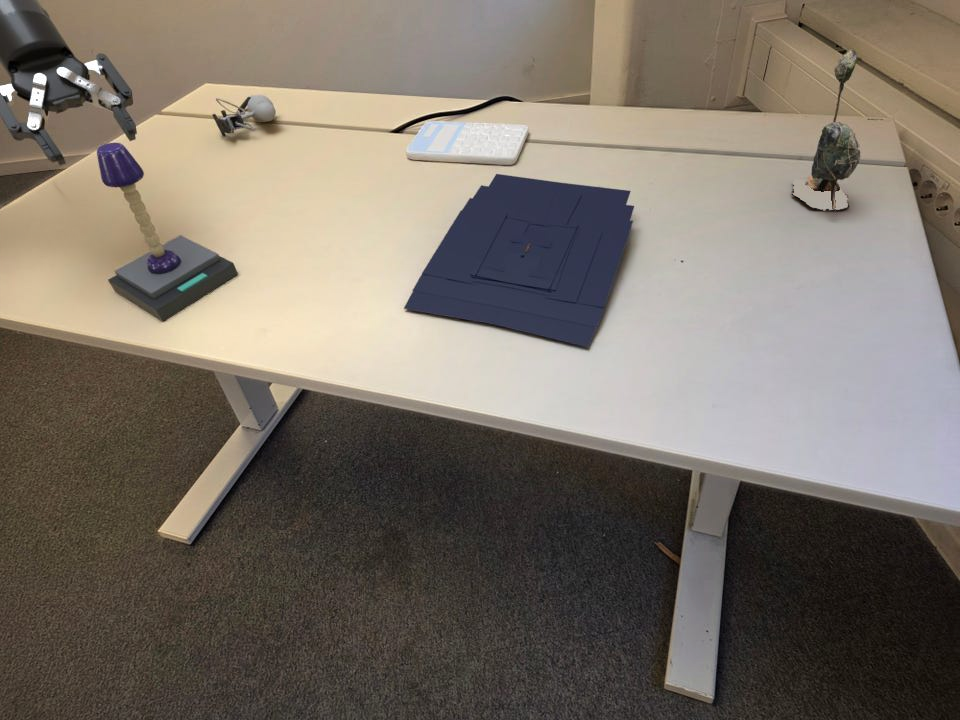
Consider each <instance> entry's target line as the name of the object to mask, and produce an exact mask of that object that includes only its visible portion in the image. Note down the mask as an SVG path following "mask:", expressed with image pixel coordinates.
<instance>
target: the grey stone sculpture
mask: <svg viewBox="0 0 960 720" xmlns="http://www.w3.org/2000/svg"><path fill="white" fill-rule="evenodd" d="M857 57H858V53H857V52H856V51H855V49H848V50H847V51H846V52H845V53H844V54H842V57H841V58H840V59H839V60H837V63H836V65H835V68H834V69H833V70H834V71H833V72H834V76H835V78H836V80H837V81H838V83H839V89H838V90H839V91H838V94H837V102H836V108H835V112H834V117H833V121H832V122H830V123H828V124H826V125H824V126H823V129H821V135H820V136H819V140H818V142H817V143H818V144H817V146H816V152H815V155H814V157H813V162H812V165H811V173H810V174H811V176H808V177H806V178H807V179H806V181H805V185H807V186H809V187H810V188H811V189H813V190H814V191H821V192H824V191H831V201H832V209H835V208H836V200H835V192H836V191H839V190H840V187H839V186H840V184H839V183H838V181H839V180H840V181H843V180H845V179H848V178H849V177H850V176H851V175H852V174H853V173H854V172H855V170H856V169H857V167H858V165H859V162H860V159H861V157H862V155H861V146H860V143H859V141H858V140H857V137H856V133H855V131H854V129H853V128H852V127H851V126H850V125H848V124H847V123H842V122H840V121H839V122H837V117H838V112H839V107H840V101H841V95H842V93H843V90H844V87H845V84H846V83H847V82H848V81H850V79H851V77H852V75H853V72H854V70H855V68H856V64H857Z"/></svg>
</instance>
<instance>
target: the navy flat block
mask: <svg viewBox="0 0 960 720" xmlns="http://www.w3.org/2000/svg"><path fill="white" fill-rule="evenodd" d="M631 192H632V191H631V190H626V189H620V188H619V189H618V188H611V187H602V186H593V185H584V184H576V183H568V182H559V181H551V180H545V179H537V178H531V177H522V176H515V175H507V174H500V173H495V175H494V177H493V178H492V180H491V182H490V183H489V185H483V184H482V185H480V186H479V187H478V189H477V191H476V192H475V194H474V195H473V197H469V198H468V200H467V201H466V203H465V205H464V206H463V208H462V209H461V210H460V211H459V212H458V214H457V216H456V217H455V219H454V220H453V222H452V223H451V225H450V227H449V229H448V230H447V232H446V234H445V235H444V237H443V238H442V240H441V241H440V243H439V245H438V247H437V248H436V250H435V251H434V252H433V254H432V256H431V258H430V259H429V261H428V262H427V264H426V266H425V268H424V269H423V271H422V273H421V275H420V276H419V278H418V280H417V282H416V284H415V285H414V287H413V288H412V292H411V294H410V296H409V298H408V300H407V301H406V303H405V305H404V307H403V309H404V310H410V311H415V312H421V313H427V314H433V315H437V316H438V315H439V316H444V317H450V318H455V319H462V320H468V321H473V322H479V323H485V324H490V325H495V326H499V327H503V328H508V329H512V330H515V331H520V332H524V333H528V334H532V335H536V336H540V337H545V338H548V339H551V340H556V341H559V342H560V341H561V342H564V343H567V344H572V345H578V346H580V347H585V348H589V347H590V345H591V342H592V340H593V337H594V335H595V332H596V329H597V328H599V325H600V322H601V319H602V317H603V313H604V311H605V309H606V304H607V301H608V298H609V295H610V293H611V289H612V286H613V283H614V280H615V278H616V274H617V271H618V269H619V266H620V264H621V260H622V257H623V254H624V251H625V248H626V246H627V243H628V239H629V236H630V232H631V229H632V226H633V222H634V221H633V220H631V219H632V215H633V212H634V209H635V205H632V204H631V205H630V204H627V203H628V200H629V198H630V196H631V195H630V194H631Z"/></svg>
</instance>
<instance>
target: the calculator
mask: <svg viewBox="0 0 960 720" xmlns="http://www.w3.org/2000/svg"><path fill="white" fill-rule="evenodd" d="M529 131H530V129H529V126H528V125H527V124H517V123H495V122H494V123H493V122H489V123H488V122H471V121H470V122H469V121H466V122H465V121H445V120H444V121H443V120H429V121H425V123H424V124H423V125H422V126H421V128H420V129H419V131H418V132H417V133H416V135H415V136H414V137H413V138H412V140H411V142H410V143H409V144H408V145H407V147H406V149H405V155H406V157H407V159H408V160H412V161H425V162H426V161H428V162H444V163H445V162H447V163H462V164H478V165H479V164H480V165H481V164H483V165H499V166H512V165H514V164H516V163H517V161H518V160H519V159H518V158H519V157H520V154H521V152H522V149H523V147H524V145H525V142H526V140H527V138H528V136H529Z"/></svg>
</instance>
